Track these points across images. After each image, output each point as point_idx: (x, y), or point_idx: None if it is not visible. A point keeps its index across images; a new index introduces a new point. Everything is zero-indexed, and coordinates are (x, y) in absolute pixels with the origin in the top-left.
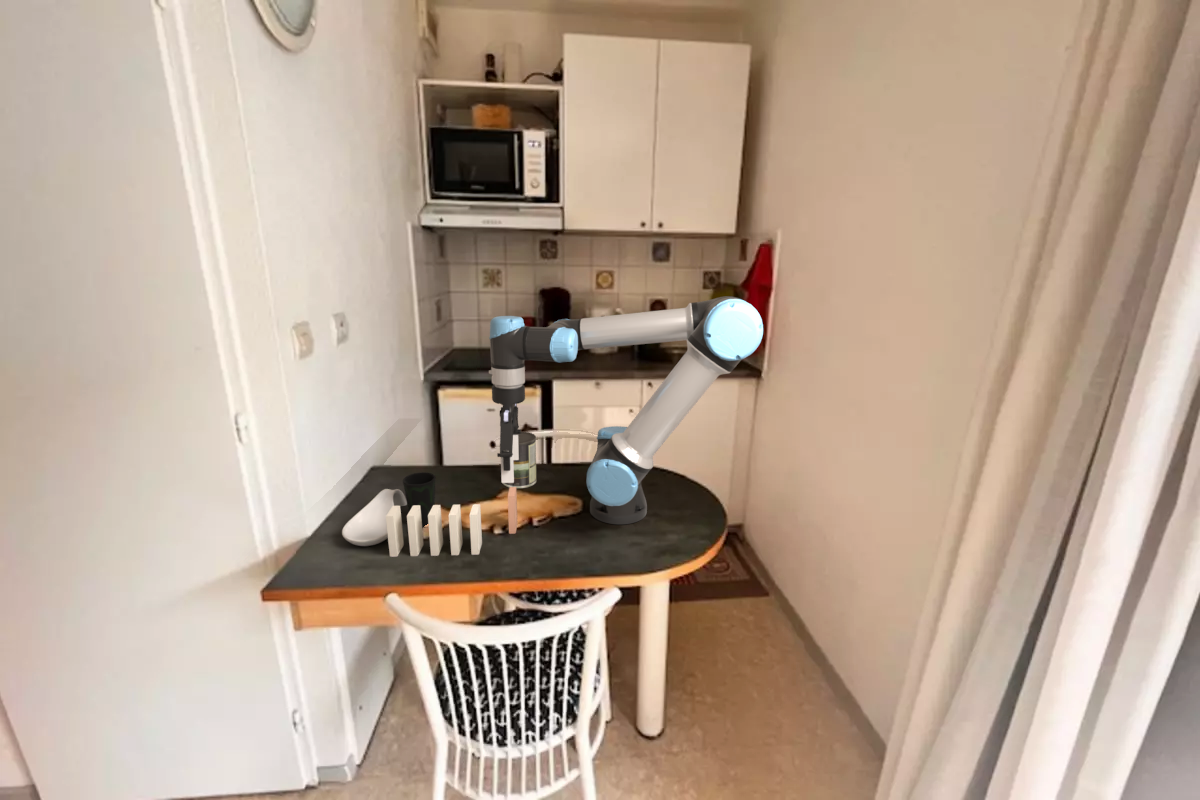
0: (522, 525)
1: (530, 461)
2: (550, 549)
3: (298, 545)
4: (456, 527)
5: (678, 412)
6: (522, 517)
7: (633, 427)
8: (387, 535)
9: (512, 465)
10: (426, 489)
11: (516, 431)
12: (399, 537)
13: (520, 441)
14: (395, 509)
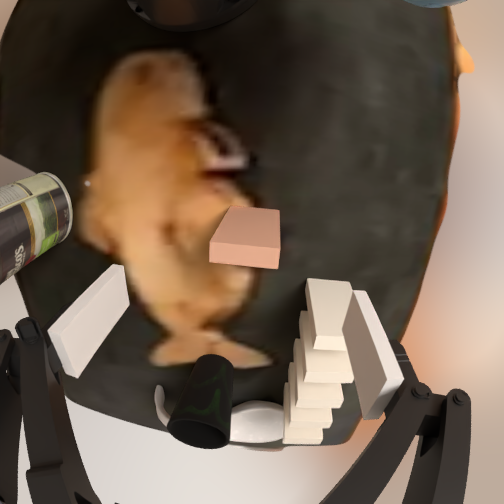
0: (242, 193)
1: (20, 198)
2: (362, 137)
3: (263, 449)
4: None
5: None
6: (202, 193)
7: None
8: (282, 408)
9: (386, 343)
10: (223, 418)
11: (46, 355)
12: None
13: None
14: (298, 440)
